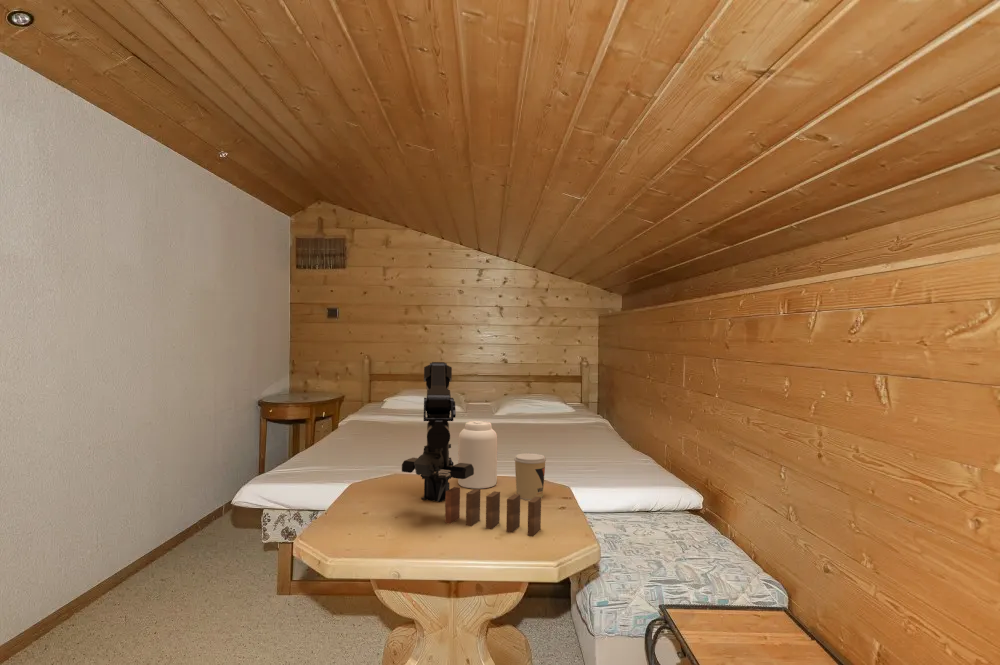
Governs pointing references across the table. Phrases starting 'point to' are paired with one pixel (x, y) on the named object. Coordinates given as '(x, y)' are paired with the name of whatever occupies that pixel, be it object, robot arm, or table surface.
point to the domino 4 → (513, 513)
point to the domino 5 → (534, 516)
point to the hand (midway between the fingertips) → (436, 500)
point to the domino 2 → (472, 507)
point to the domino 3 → (492, 510)
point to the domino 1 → (452, 505)
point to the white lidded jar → (478, 454)
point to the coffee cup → (529, 475)
